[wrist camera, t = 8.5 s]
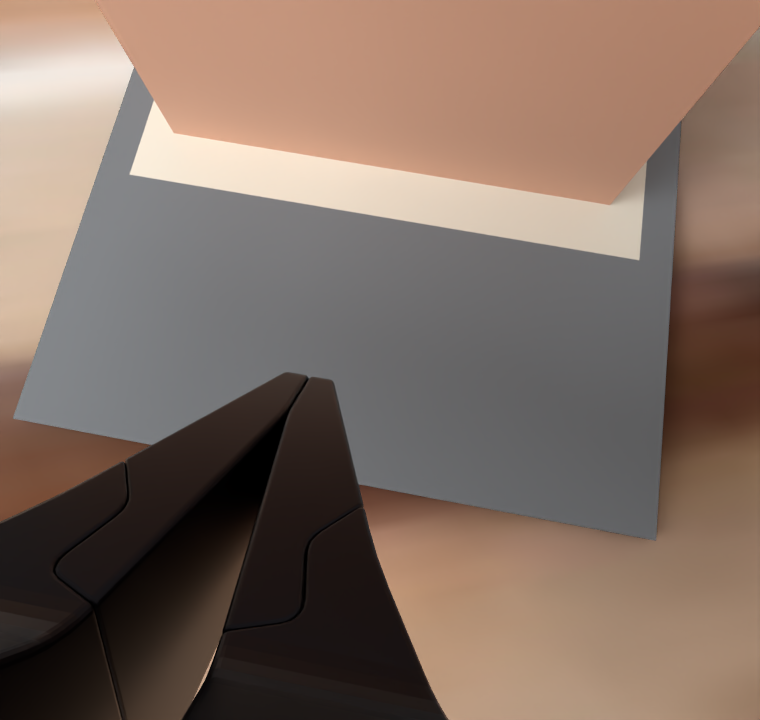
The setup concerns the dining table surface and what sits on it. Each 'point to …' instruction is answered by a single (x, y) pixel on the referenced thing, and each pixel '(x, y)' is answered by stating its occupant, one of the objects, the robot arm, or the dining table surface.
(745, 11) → the t block
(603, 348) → the mat
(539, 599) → the dining table surface
